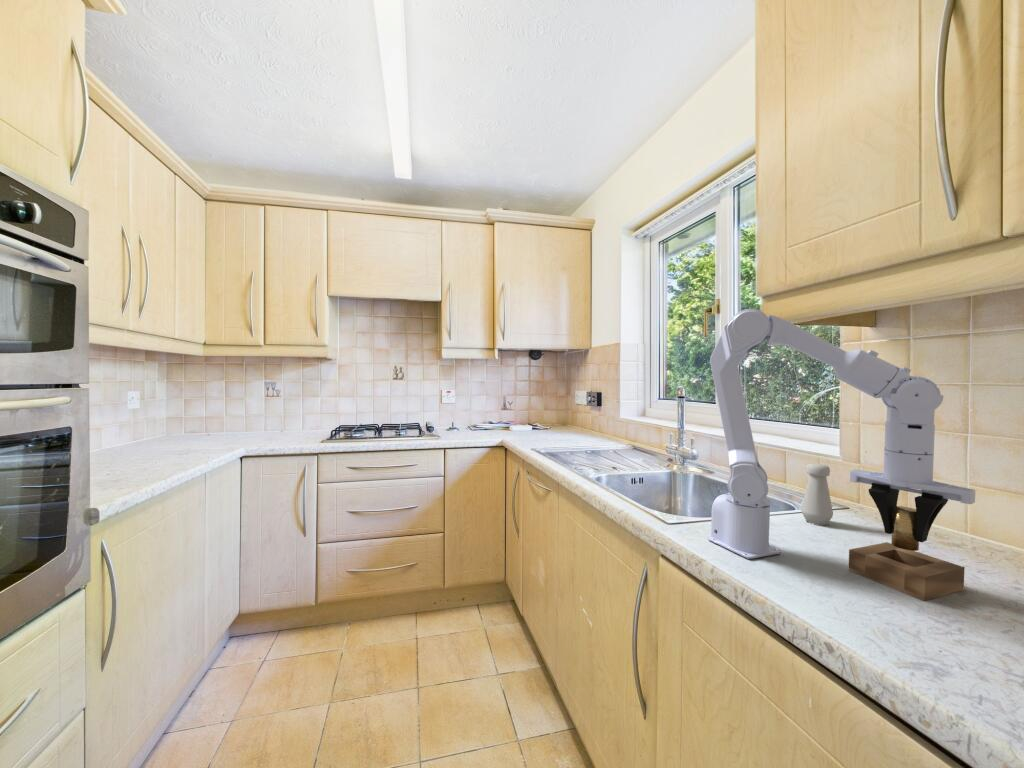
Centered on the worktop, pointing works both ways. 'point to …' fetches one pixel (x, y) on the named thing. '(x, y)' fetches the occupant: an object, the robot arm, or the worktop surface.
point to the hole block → (907, 570)
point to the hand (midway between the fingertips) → (905, 536)
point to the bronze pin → (904, 528)
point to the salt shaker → (817, 495)
